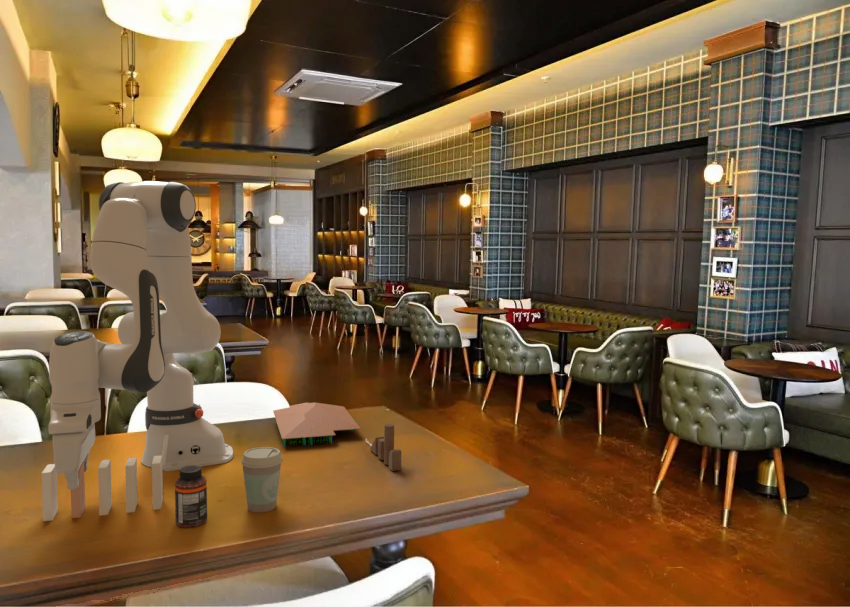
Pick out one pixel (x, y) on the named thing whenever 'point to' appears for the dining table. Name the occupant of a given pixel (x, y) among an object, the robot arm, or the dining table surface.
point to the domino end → (49, 492)
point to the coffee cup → (261, 477)
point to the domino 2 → (104, 487)
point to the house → (313, 421)
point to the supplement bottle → (191, 497)
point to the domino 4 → (157, 482)
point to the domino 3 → (131, 484)
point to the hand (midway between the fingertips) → (78, 479)
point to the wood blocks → (387, 448)
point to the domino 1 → (78, 495)
